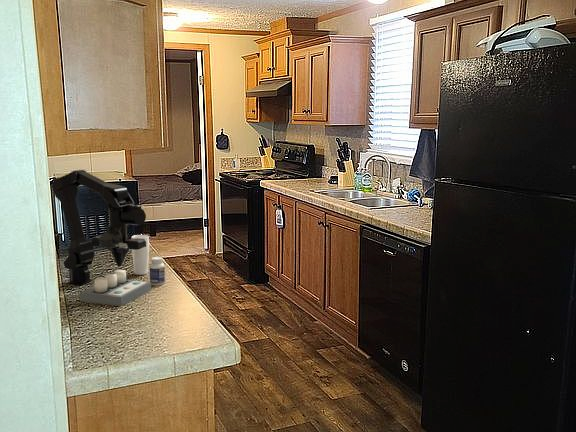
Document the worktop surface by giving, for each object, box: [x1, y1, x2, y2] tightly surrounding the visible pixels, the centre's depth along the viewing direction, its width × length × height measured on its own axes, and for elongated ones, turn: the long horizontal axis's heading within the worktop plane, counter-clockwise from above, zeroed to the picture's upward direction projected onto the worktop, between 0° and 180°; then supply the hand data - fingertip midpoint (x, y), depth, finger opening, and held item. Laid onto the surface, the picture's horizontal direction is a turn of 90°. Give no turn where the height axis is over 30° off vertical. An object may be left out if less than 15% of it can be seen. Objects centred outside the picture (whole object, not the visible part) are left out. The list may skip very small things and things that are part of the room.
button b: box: [104, 273, 117, 288], centre depth 186 cm, size 4×4×4 cm
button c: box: [113, 269, 127, 283], centre depth 191 cm, size 4×4×4 cm
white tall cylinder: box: [130, 234, 150, 276], centre depth 212 cm, size 7×7×15 cm
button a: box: [94, 277, 108, 292], centre depth 181 cm, size 4×4×4 cm
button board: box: [79, 279, 152, 307], centre depth 186 cm, size 16×18×3 cm
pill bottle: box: [149, 256, 166, 286], centre depth 200 cm, size 5×5×10 cm
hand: (119, 266), depth 190 cm, fingers closed
